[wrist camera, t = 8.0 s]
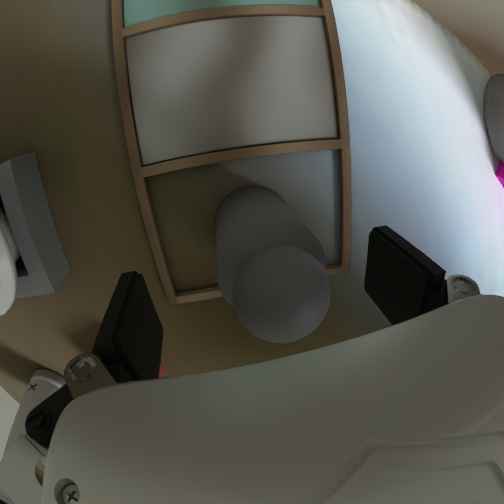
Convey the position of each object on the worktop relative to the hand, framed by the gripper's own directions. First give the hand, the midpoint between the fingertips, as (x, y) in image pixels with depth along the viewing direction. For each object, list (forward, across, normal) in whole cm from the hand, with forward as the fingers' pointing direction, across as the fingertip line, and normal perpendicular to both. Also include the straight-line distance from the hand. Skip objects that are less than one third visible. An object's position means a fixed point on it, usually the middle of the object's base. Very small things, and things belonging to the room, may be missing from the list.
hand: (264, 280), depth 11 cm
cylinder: (+7, -1, +1) cm, 8 cm away
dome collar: (+8, +17, -3) cm, 19 cm away
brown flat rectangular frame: (+8, -1, -8) cm, 11 cm away
